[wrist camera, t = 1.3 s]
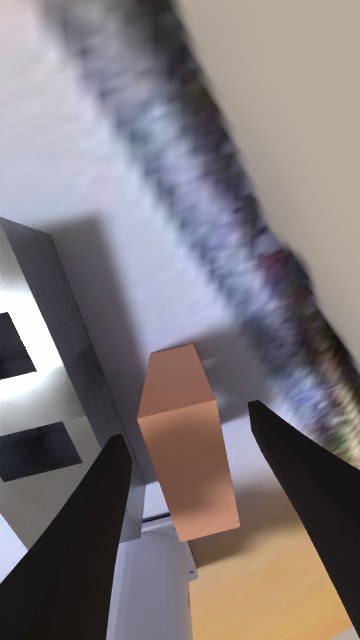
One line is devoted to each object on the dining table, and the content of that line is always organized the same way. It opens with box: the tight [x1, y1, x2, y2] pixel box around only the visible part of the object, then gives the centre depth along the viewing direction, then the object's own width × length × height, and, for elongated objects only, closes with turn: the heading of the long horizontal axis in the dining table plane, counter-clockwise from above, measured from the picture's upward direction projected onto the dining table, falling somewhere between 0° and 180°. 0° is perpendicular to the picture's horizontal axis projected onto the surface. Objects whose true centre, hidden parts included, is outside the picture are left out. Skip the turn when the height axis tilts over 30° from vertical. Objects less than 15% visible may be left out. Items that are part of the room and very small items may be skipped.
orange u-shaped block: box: [137, 344, 240, 542], centre depth 10 cm, size 8×3×6 cm, turn 12°
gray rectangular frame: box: [0, 217, 146, 551], centre depth 10 cm, size 20×7×3 cm, turn 12°
